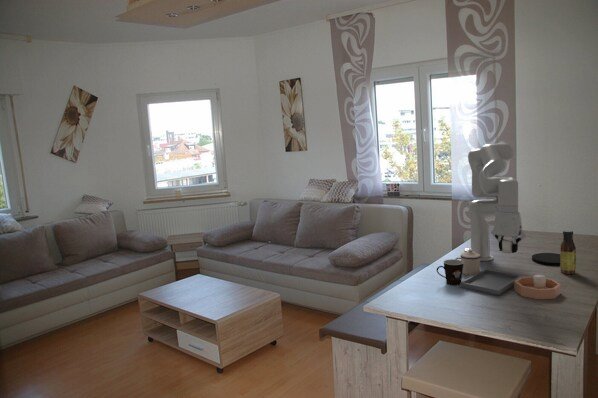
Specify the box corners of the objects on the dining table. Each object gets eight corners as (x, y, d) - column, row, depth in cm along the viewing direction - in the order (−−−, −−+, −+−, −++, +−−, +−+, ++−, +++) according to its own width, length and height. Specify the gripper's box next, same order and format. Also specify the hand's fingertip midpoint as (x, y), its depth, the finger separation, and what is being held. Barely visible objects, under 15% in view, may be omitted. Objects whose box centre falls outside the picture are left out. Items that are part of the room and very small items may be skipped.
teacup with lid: (482, 271, 220) (481, 248, 218) (478, 276, 212) (478, 252, 211) (456, 268, 226) (456, 246, 224) (452, 274, 218) (452, 250, 217)
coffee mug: (463, 280, 209) (463, 259, 207) (464, 286, 201) (463, 265, 199) (437, 279, 213) (437, 259, 211) (436, 285, 204) (436, 264, 203)
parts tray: (460, 287, 200) (460, 282, 199) (485, 273, 216) (485, 268, 215) (498, 296, 187) (498, 290, 187) (522, 280, 203) (522, 275, 203)
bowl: (509, 293, 190) (509, 284, 189) (524, 282, 200) (524, 274, 200) (550, 302, 178) (550, 292, 177) (564, 290, 189) (564, 281, 188)
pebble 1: (500, 252, 190) (500, 240, 189) (505, 249, 193) (505, 238, 192) (511, 253, 187) (511, 242, 186) (515, 251, 190) (515, 239, 189)
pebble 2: (531, 288, 191) (531, 276, 190) (535, 285, 194) (536, 273, 194) (543, 290, 188) (543, 278, 187) (547, 287, 191) (547, 275, 190)
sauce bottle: (577, 274, 206) (579, 232, 203) (563, 274, 207) (563, 232, 204) (572, 270, 212) (573, 229, 210) (557, 270, 214) (558, 229, 211)
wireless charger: (533, 265, 224) (534, 261, 224) (530, 255, 240) (530, 252, 240) (575, 267, 217) (575, 263, 217) (568, 257, 234) (568, 253, 233)
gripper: (484, 208, 191) (484, 250, 194) (525, 212, 179) (524, 256, 181) (492, 205, 196) (492, 246, 199) (533, 209, 183) (532, 252, 186)
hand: (508, 250), depth 190 cm, fingers closed on pebble 1, 4 cm apart
